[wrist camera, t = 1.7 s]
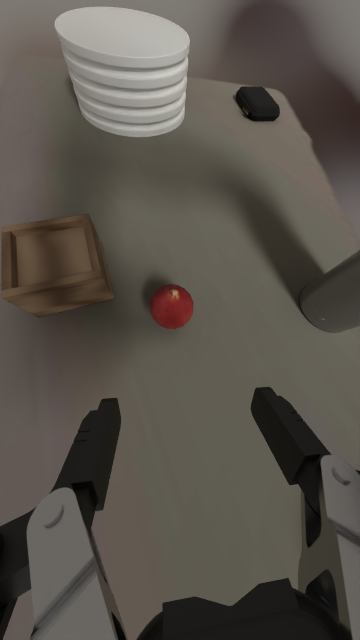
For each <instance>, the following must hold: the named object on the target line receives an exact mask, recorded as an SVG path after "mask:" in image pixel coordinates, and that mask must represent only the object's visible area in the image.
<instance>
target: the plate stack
mask: <svg viewBox="0 0 360 640" xmlns="http://www.w3.org/2000/svg"><path fill="white" fill-rule="evenodd" d="M55 29H56V32H57V35H58V38H59V40H60V42H61V43H62V52H63V55H64V58H65V61H66V63H67V64H68V71H69V75H70V78H71V81H72V82H73V87H74V91H75V94H76V97H77V99H78V104H79V107H80V110H81V113H82V115H83V116H84V118H85V119H86V120H87V121H88V122H90V123H91V124H92V125H94V126H96V127H98V128H100V129H102V130H104V131H107V132H110V133H113V134H117V135H122V136H129V137H150V136H157V135H161V134H165V133H167V132H170V131H172V130H174V129H175V128H177V127H178V126H179V125H180V124H181V123H182V121H183V119H184V111H185V107H184V105H185V98H186V93H185V90H186V84H187V76H186V74H187V70H188V57H187V55H188V53H189V43H190V39H189V36H188V34H187V33H186V32H185V31H184V30H183V29H182V28H181V27H179V26H178V25H177V24H175V23H173V22H171V21H169V20H167V19H164V18H161V17H159V16H156V15H153V14H150V13H146V12H141V11H137V10H131V9H124V8H116V7H88V8H79V9H75V10H71V11H68V12H65V13H63V14H62V15H60V16H59V17H58V18H57V19H56V21H55Z"/></svg>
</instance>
